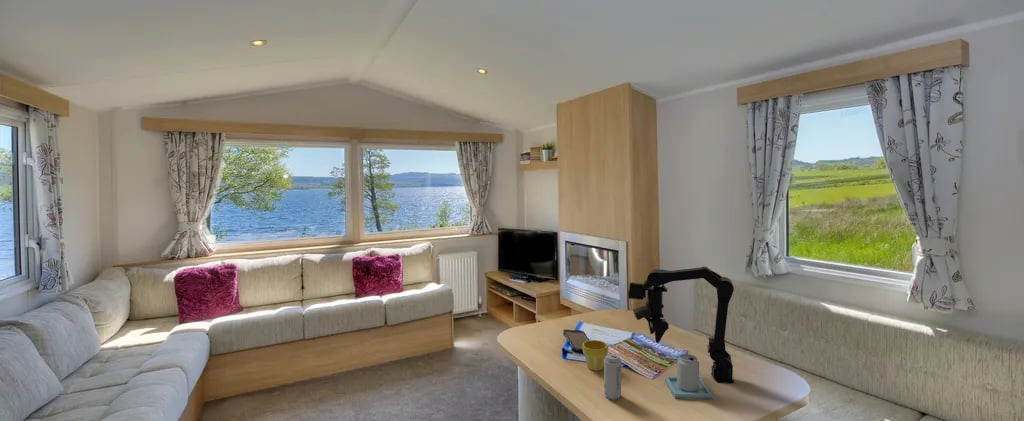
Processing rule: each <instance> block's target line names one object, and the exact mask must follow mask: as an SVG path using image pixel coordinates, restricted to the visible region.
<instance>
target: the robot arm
mask: <svg viewBox="0 0 1024 421" xmlns="http://www.w3.org/2000/svg"><path fill="white" fill-rule="evenodd" d="M700 279H703V280H705V281H706V282H707V283H709V284H710V285H711V286H713V287H714V288H715V289H716V298H717V303H716V304H717V305H716V310H715V311H716V312H715V322H714V323H715V324H714V330H713V336H712V337H710V336H709V337H708V344H707V346H706V348H707V353H709V358H710V359H711V360H712V365H711V374H710V375H711V377H712V378H713V379H714V381H715V382H717V383H722V384H723V383H724V384H725V383H730V384H731V383H732V384H733V383H734V384H735V380H734V379H733V378H734V376H733V375H734V374H733V373H734V370H733V369H734V368H733V367H734V365H733V363H732V362H733V361H732V356H731V354H730V353H729V352H728V351H727V350H726V340H725V338H726V337H725V336H726V328H727V321H728V320H727V319H728V312H729V310H728V309H729V304H730V301H731V300H732V297H733V294H734V291H735V287H734V285H733V281H732V280H731V279H730V278H729V277H727V276H722V275H720V274H719V273H717V272H715V271H713V270H711V269H710V268H709V267H707V266H701V267H700V266H699V267H694V268H683V269H676V270H675V269H674V270H673V269H672V270H667V269H657V268H656V269H655V268H654V269H651V270H650V271H649V273H648V274H647V278H646V280H644V282H643V283H641V282H640V283H639V282H638V283H637V282H632V281H631V282H629V289H628V299H629V300H639V301H644V299H647V301H646V302H645V305H642V306H639V307H636V308H633V309H632V312H633V314H634V317H635V319H636V321H639V320H643V319H645V320H646V321H647V324H648V329H649V333H650V334H651V335H654V339H655V343H656V344H659V343H660V342H661V341H662V340H661V339H662V338H663V336H664V334H665V333H666V331H668V330H669V326H670V325H669V323H668V321H667V320H666V319H664V317H665V316H664V314H663V309H664V307H665V306H664V304H663V297H664V296H663V293H667V292H668V287H666V286H665V285H666V284H669V283H672V282H681V281H689V280H700Z"/></svg>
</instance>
